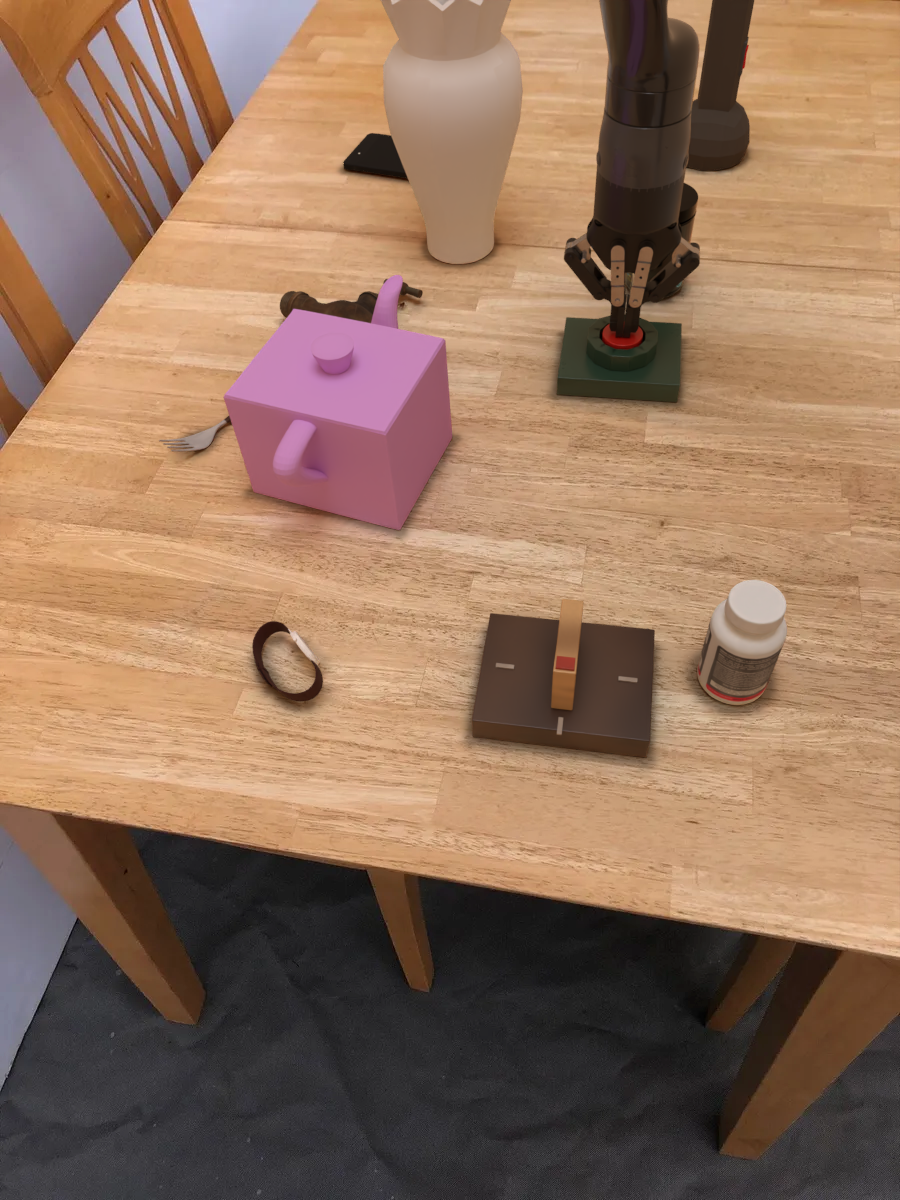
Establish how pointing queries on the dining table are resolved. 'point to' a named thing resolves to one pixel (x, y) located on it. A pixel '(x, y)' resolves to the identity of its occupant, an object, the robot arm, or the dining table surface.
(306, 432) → the teapot
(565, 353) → the switch box
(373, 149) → the cell phone
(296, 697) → the watch
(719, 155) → the flashlight
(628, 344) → the button
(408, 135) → the vase
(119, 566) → the dining table surface
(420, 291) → the faucet
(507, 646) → the panel
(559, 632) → the handle
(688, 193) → the supplement container
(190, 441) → the fork
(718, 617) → the pill bottle
